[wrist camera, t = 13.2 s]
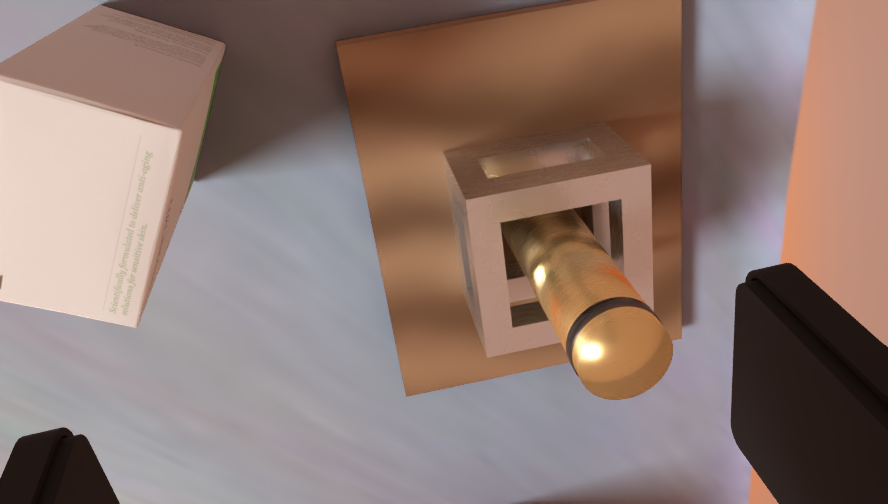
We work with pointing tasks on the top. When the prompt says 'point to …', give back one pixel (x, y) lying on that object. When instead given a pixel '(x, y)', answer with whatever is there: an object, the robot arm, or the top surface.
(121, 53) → the skincare box
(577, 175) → the collar cage
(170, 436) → the top surface
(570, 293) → the brass tube
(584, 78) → the stand board
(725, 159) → the top surface
